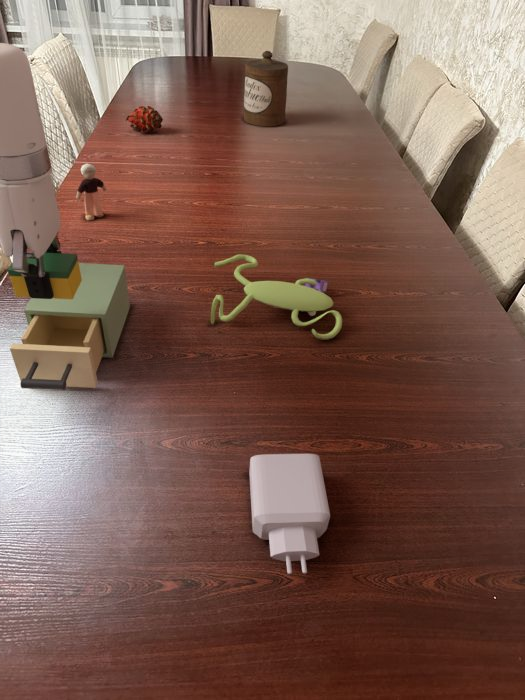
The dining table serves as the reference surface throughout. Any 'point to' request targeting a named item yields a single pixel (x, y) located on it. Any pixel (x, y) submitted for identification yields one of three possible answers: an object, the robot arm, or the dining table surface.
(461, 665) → the dining table surface
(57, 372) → the drawer
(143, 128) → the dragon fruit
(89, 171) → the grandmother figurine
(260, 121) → the wooden container
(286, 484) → the charger
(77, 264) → the sponge
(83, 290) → the cabinet
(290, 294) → the figurine
